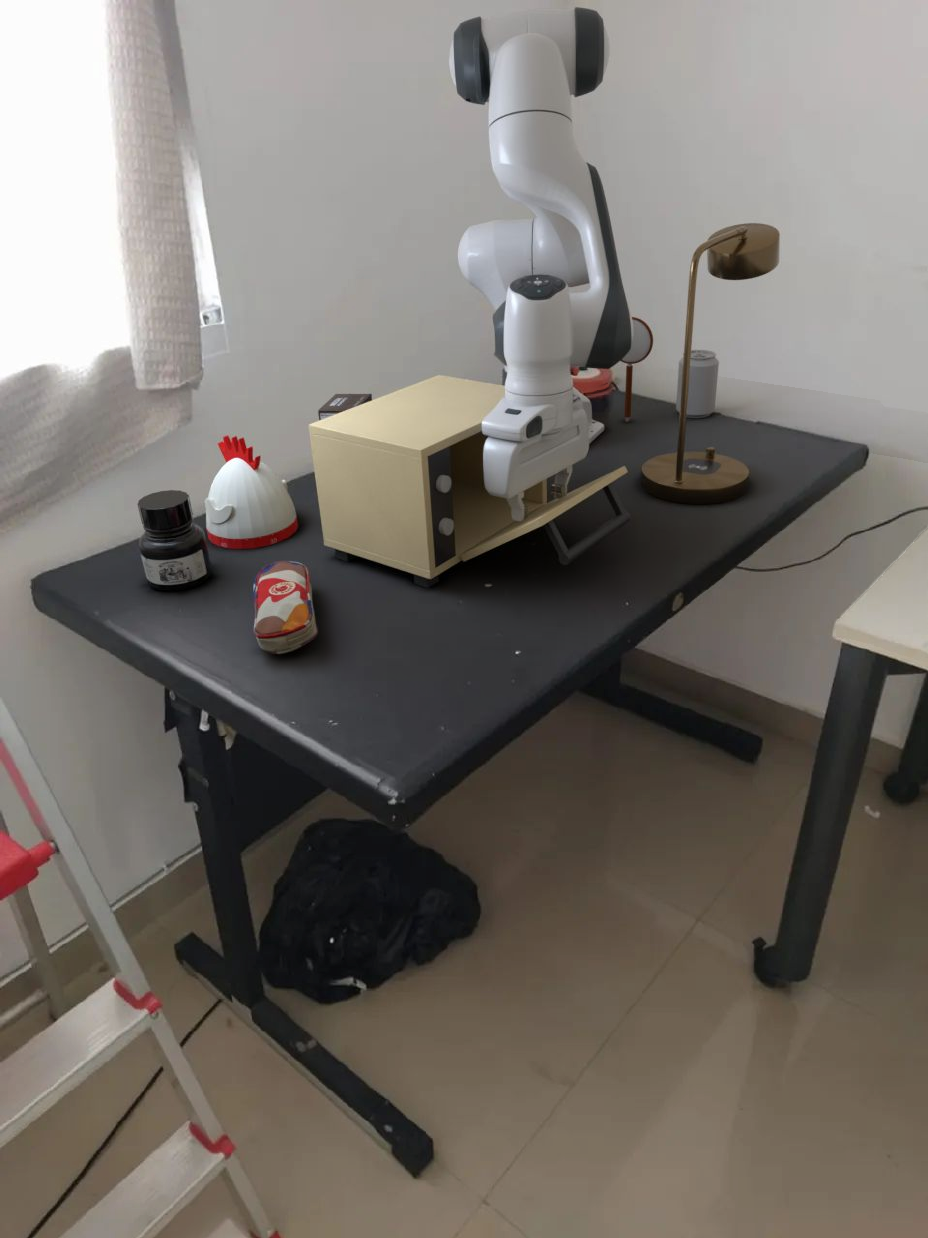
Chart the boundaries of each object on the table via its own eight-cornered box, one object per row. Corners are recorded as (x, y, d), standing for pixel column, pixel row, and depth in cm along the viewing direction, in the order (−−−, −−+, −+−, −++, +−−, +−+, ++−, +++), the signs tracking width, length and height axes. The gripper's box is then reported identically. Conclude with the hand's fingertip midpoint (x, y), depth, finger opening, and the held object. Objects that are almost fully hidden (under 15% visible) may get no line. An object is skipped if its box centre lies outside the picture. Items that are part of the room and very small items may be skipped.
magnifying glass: (604, 420, 186) (607, 316, 176) (607, 418, 187) (611, 314, 177) (647, 425, 182) (652, 319, 172) (650, 422, 183) (655, 317, 173)
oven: (446, 494, 156) (438, 374, 146) (552, 521, 144) (551, 393, 135) (325, 557, 137) (308, 424, 127) (436, 594, 126) (426, 451, 116)
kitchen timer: (255, 506, 156) (240, 417, 148) (316, 522, 148) (303, 430, 141) (189, 536, 146) (169, 443, 139) (251, 556, 139) (233, 459, 131)
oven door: (547, 502, 143) (624, 465, 132) (569, 544, 144) (647, 510, 132) (460, 555, 128) (538, 518, 117) (484, 601, 129) (564, 569, 118)
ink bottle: (138, 595, 130) (118, 514, 124) (153, 566, 137) (135, 489, 131) (209, 590, 130) (192, 509, 124) (220, 562, 138) (205, 485, 132)
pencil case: (224, 661, 113) (217, 625, 111) (262, 585, 130) (257, 553, 128) (314, 660, 113) (309, 624, 110) (341, 584, 130) (337, 551, 127)
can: (676, 419, 184) (680, 357, 178) (675, 407, 191) (679, 347, 185) (715, 419, 183) (721, 357, 177) (713, 407, 189) (718, 347, 184)
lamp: (783, 458, 163) (813, 222, 145) (723, 512, 144) (749, 249, 126) (690, 443, 172) (707, 218, 154) (622, 492, 153) (632, 243, 135)
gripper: (562, 387, 132) (561, 480, 138) (472, 425, 118) (477, 527, 125) (601, 392, 128) (599, 488, 135) (513, 433, 114) (516, 537, 121)
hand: (539, 507), depth 130 cm, fingers open, 8 cm apart
